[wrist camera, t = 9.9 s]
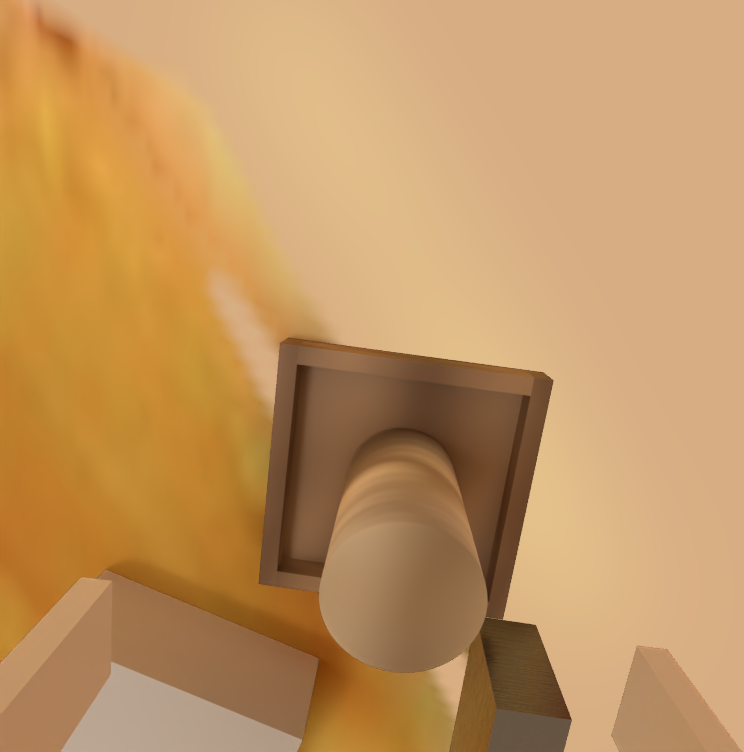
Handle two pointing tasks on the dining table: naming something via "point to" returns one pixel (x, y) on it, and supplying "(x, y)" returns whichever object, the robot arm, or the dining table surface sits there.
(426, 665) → the roller
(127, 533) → the dining table surface
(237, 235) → the dining table surface
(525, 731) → the block
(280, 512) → the tray
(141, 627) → the slab
